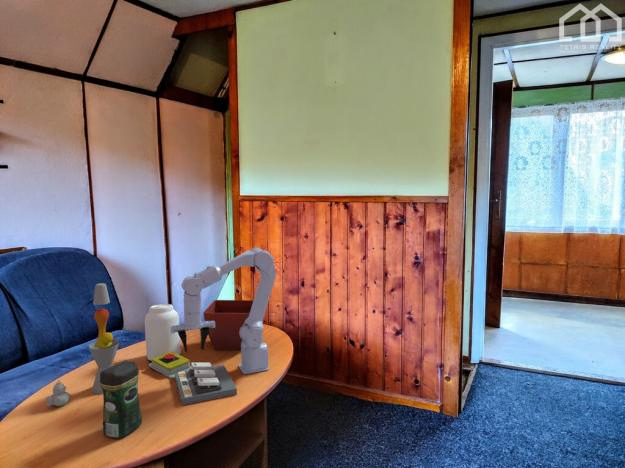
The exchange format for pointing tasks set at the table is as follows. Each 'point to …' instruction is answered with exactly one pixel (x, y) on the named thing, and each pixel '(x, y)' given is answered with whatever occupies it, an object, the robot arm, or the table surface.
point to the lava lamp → (102, 337)
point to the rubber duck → (58, 395)
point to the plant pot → (227, 322)
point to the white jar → (161, 331)
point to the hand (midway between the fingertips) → (194, 350)
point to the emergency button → (170, 364)
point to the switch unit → (196, 393)
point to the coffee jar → (120, 399)
